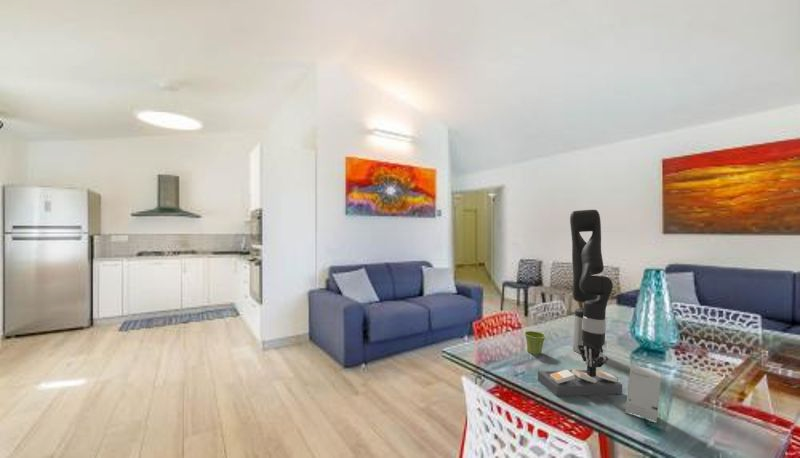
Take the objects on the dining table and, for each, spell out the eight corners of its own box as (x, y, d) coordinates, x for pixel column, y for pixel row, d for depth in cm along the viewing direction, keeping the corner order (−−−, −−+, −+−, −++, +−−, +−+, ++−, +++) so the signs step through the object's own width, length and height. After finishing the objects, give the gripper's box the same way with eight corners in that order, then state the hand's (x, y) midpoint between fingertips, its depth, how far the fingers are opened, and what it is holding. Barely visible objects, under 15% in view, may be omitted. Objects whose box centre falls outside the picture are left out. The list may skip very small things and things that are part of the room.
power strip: (610, 378, 132) (611, 367, 132) (636, 393, 121) (637, 381, 120) (537, 379, 128) (538, 368, 128) (556, 396, 116) (557, 383, 116)
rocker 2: (587, 377, 124) (588, 374, 124) (595, 383, 120) (597, 379, 120) (571, 372, 123) (572, 368, 123) (579, 377, 119) (581, 373, 119)
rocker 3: (607, 376, 125) (608, 372, 125) (616, 382, 121) (617, 378, 121) (591, 372, 124) (593, 368, 124) (600, 377, 120) (601, 373, 120)
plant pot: (547, 357, 151) (548, 338, 151) (525, 354, 153) (526, 336, 153) (542, 349, 160) (543, 332, 160) (522, 347, 162) (523, 330, 162)
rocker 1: (567, 372, 123) (566, 369, 123) (575, 378, 118) (574, 374, 118) (550, 378, 122) (549, 374, 122) (557, 383, 117) (557, 379, 117)
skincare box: (625, 414, 107) (628, 368, 106) (627, 406, 111) (630, 363, 111) (658, 425, 101) (661, 377, 101) (659, 416, 106) (661, 371, 106)
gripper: (616, 335, 115) (614, 384, 116) (589, 323, 128) (587, 367, 129) (597, 335, 114) (595, 385, 114) (572, 324, 127) (570, 368, 128)
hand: (591, 375), depth 122 cm, fingers closed
